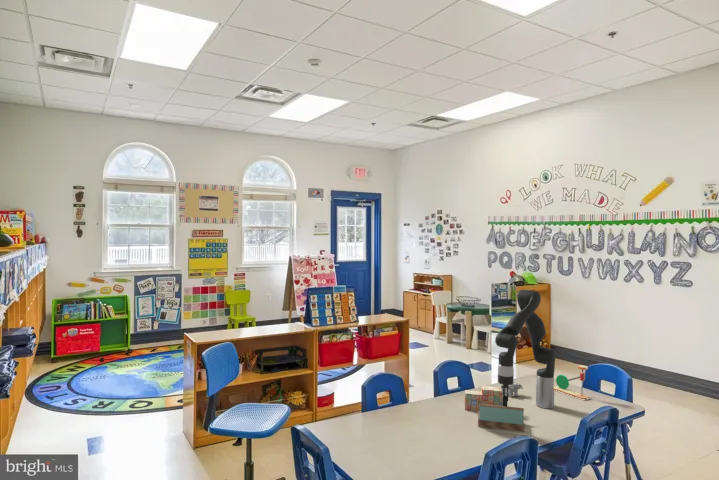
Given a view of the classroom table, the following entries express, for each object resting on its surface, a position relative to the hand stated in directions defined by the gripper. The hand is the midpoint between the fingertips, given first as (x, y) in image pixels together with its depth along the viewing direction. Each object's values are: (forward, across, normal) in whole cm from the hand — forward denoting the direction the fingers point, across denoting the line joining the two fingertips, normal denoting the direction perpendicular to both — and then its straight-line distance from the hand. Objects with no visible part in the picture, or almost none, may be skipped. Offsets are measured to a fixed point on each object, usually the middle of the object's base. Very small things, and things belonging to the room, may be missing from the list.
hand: (504, 407), depth 232 cm
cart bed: (+11, +5, +2) cm, 12 cm away
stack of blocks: (+12, +24, +10) cm, 29 cm away
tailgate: (+7, -2, +2) cm, 7 cm away
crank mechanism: (+13, +69, -42) cm, 82 cm away
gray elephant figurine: (+12, +55, -8) cm, 57 cm away
